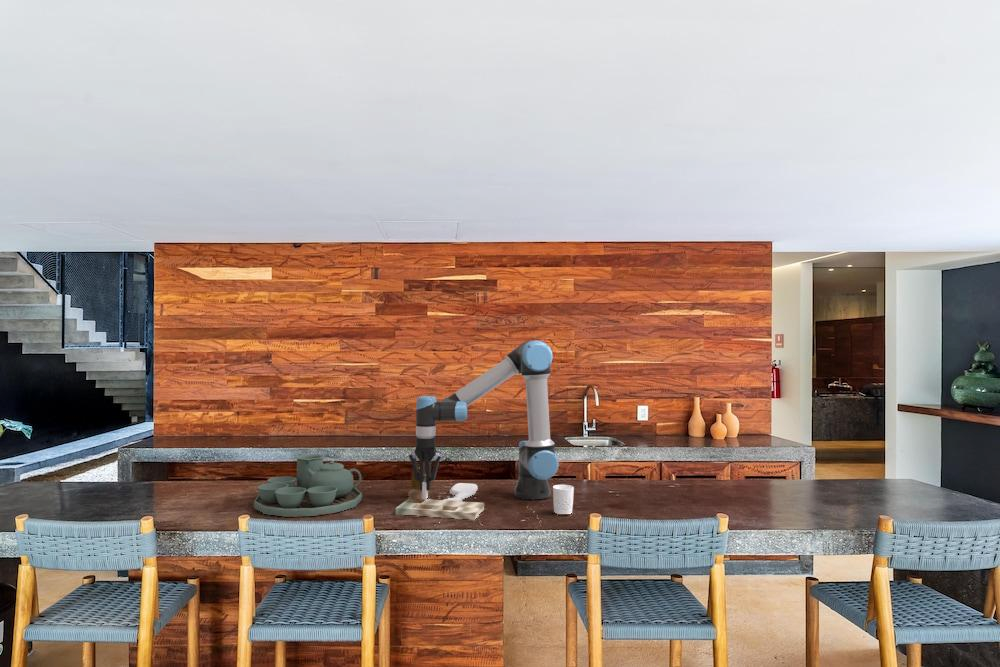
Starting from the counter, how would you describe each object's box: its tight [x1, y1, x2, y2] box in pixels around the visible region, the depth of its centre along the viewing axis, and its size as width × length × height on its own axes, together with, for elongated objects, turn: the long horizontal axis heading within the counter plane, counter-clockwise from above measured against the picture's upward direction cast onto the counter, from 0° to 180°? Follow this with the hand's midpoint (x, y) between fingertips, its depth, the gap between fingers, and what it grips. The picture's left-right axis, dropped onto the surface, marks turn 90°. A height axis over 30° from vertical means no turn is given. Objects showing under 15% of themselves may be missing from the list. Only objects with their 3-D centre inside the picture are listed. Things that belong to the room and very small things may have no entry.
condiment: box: [410, 466, 426, 491], centre depth 252 cm, size 7×8×12 cm
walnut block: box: [408, 489, 425, 503], centre depth 235 cm, size 5×5×4 cm
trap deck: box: [395, 498, 485, 521], centre depth 230 cm, size 30×15×2 cm, turn 79°
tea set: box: [253, 453, 363, 516], centre depth 239 cm, size 40×40×16 cm
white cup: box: [552, 484, 575, 514], centre depth 229 cm, size 8×8×10 cm
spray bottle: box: [443, 482, 479, 501], centre depth 255 cm, size 3×11×24 cm
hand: (425, 498), depth 235 cm, fingers closed
